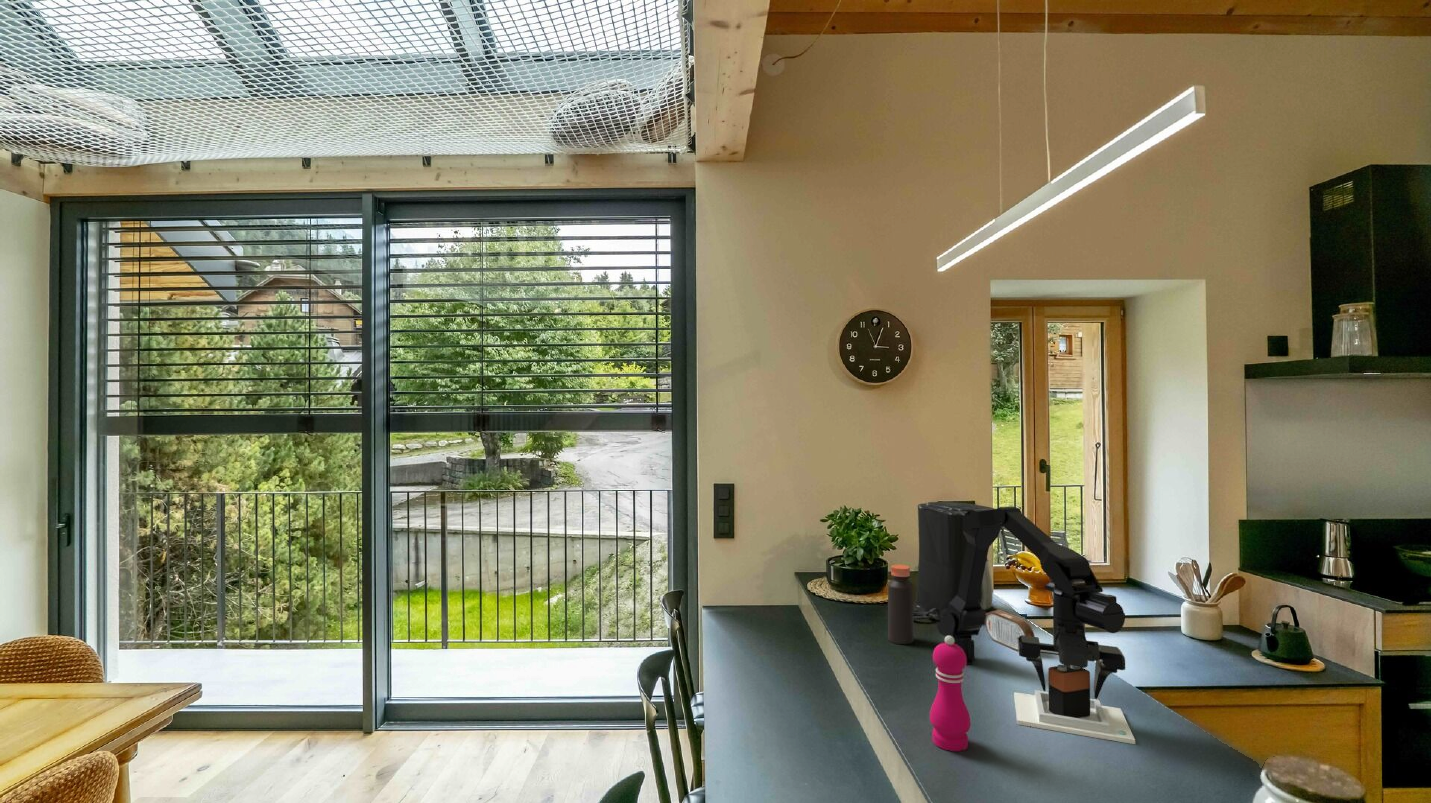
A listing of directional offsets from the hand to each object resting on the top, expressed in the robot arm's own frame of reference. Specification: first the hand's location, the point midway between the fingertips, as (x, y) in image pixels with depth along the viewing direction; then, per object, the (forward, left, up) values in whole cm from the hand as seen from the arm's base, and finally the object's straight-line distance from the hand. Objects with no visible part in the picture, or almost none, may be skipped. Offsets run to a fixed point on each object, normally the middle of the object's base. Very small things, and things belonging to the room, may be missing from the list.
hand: (1069, 694), depth 131 cm
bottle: (-37, +33, -5) cm, 50 cm away
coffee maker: (-28, +66, -5) cm, 72 cm away
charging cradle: (0, 0, -5) cm, 5 cm away
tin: (-10, +40, -5) cm, 42 cm away
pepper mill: (-22, -20, -5) cm, 30 cm away
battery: (0, 0, -4) cm, 4 cm away
